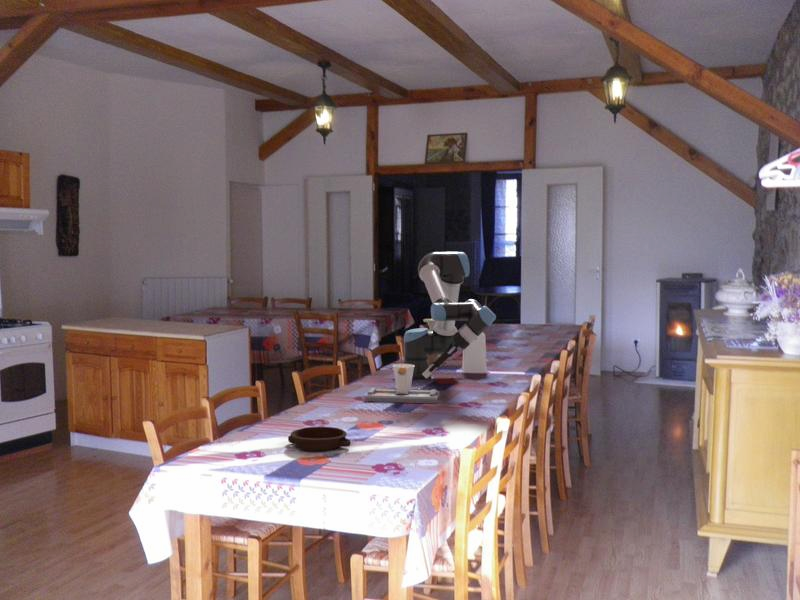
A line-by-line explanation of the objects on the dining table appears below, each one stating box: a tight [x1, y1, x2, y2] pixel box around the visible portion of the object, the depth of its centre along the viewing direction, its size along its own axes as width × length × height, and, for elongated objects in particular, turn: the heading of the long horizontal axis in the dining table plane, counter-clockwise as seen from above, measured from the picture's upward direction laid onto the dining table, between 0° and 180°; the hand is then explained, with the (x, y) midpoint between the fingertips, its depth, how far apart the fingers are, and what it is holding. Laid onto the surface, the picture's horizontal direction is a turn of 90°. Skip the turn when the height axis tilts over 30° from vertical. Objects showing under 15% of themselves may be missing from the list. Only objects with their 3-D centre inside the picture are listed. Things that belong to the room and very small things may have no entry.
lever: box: [395, 366, 411, 395], centre depth 332 cm, size 5×8×12 cm, turn 172°
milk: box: [461, 331, 488, 374], centre depth 400 cm, size 12×12×26 cm
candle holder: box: [422, 318, 447, 366], centre depth 423 cm, size 11×11×24 cm
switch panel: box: [364, 387, 440, 404], centre depth 332 cm, size 30×14×4 cm, turn 82°
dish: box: [287, 426, 352, 453], centre depth 257 cm, size 18×22×5 cm
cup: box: [392, 363, 415, 390], centre depth 351 cm, size 10×10×11 cm
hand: (424, 376), depth 330 cm, fingers closed
